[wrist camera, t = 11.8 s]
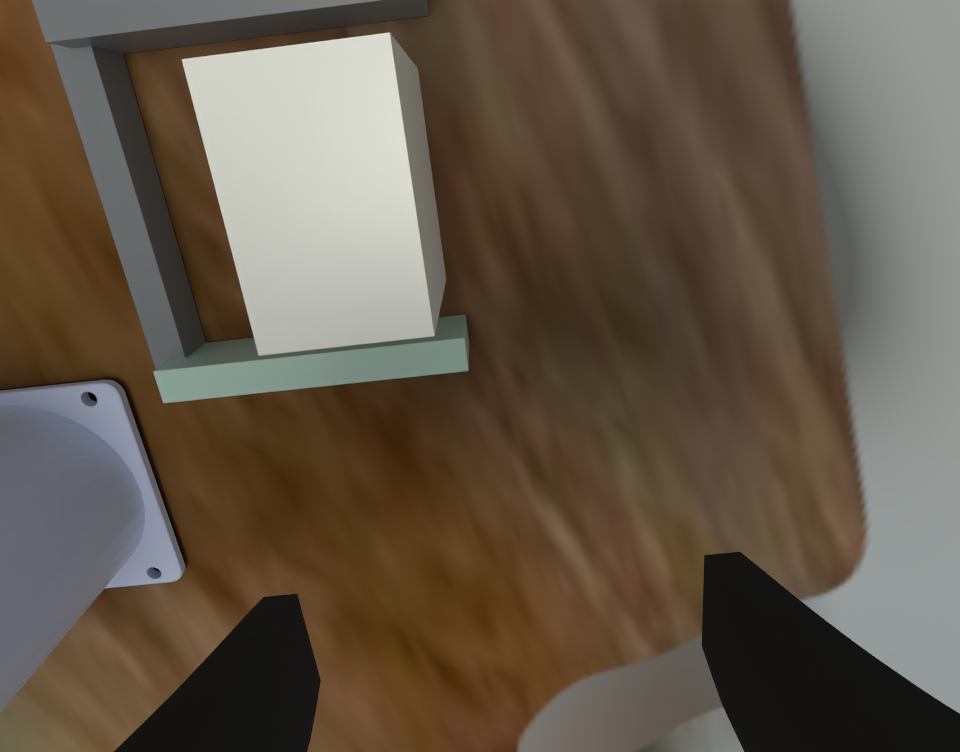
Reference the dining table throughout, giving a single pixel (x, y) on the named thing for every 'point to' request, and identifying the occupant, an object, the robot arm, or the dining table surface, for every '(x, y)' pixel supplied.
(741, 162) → the dining table surface
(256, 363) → the port cradle
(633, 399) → the dining table surface
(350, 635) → the dining table surface
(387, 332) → the plug block
